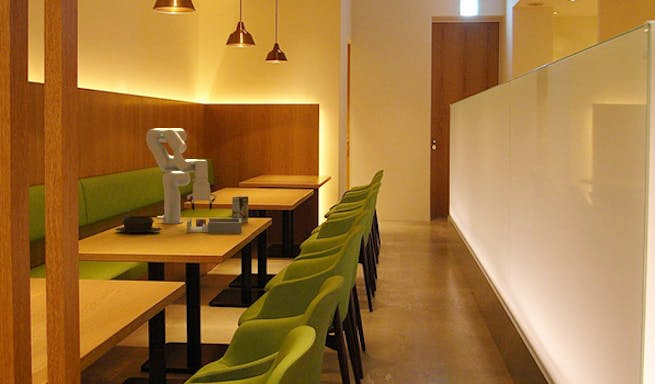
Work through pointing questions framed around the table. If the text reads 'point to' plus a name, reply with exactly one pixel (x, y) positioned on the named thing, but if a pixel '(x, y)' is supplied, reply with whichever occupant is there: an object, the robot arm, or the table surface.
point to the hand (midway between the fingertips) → (202, 210)
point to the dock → (224, 225)
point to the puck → (200, 222)
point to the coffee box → (240, 208)
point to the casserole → (138, 225)
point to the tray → (196, 229)
